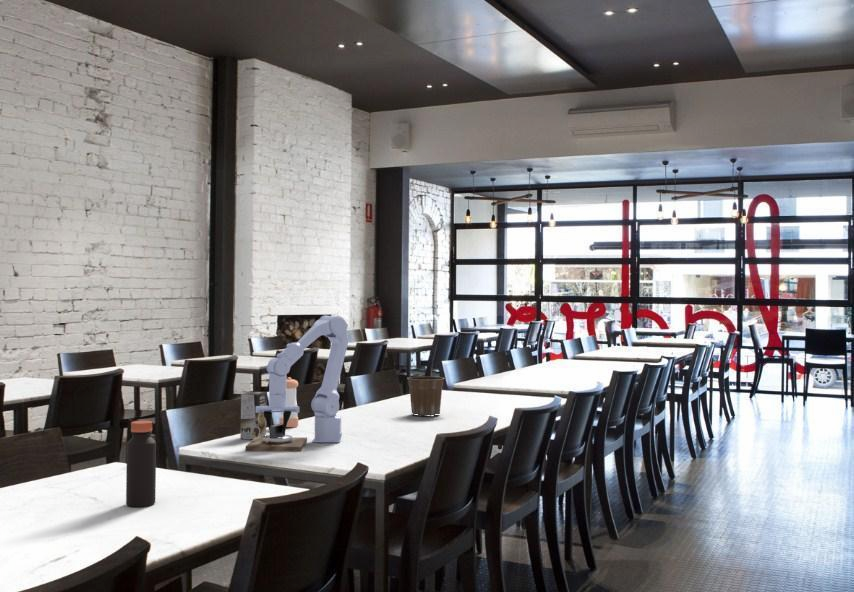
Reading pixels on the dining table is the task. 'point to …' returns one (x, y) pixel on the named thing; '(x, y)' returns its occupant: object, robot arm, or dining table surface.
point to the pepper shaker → (290, 402)
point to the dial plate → (276, 445)
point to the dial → (277, 435)
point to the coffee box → (252, 415)
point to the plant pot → (425, 394)
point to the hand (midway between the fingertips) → (277, 433)
